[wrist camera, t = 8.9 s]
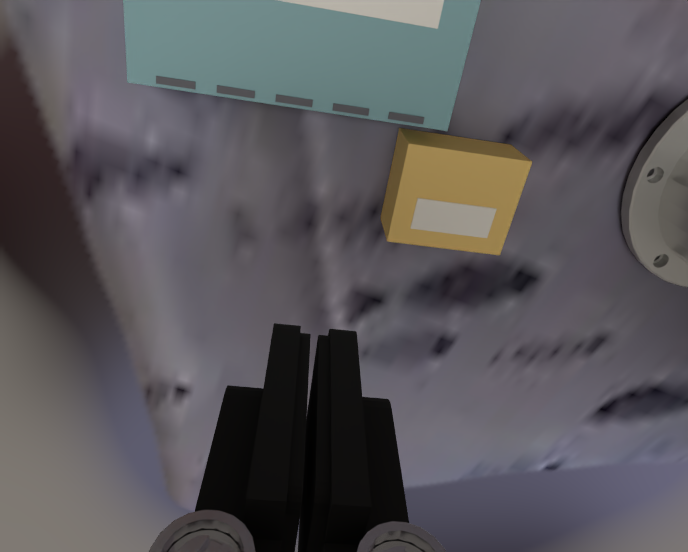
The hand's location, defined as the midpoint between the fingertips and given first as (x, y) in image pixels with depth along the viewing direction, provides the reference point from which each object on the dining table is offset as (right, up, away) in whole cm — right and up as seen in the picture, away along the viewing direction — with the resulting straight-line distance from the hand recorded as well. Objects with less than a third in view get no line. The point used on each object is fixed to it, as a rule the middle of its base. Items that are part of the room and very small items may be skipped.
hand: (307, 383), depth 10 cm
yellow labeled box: (+6, +7, +17) cm, 19 cm away
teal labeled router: (-1, +15, +12) cm, 19 cm away
